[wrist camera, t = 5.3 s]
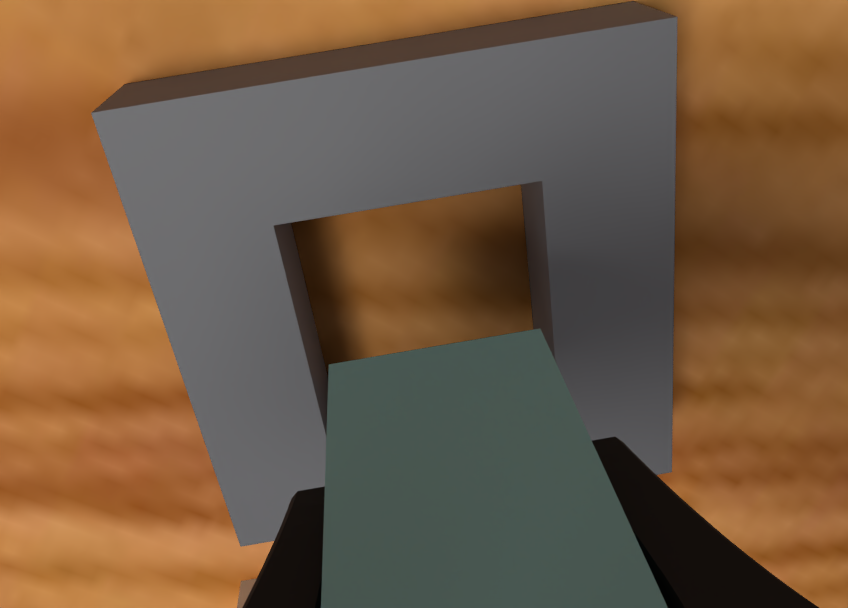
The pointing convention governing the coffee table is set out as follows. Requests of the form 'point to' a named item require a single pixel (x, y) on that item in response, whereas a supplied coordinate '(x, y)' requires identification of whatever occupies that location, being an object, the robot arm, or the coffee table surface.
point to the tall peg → (470, 486)
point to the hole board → (399, 184)
